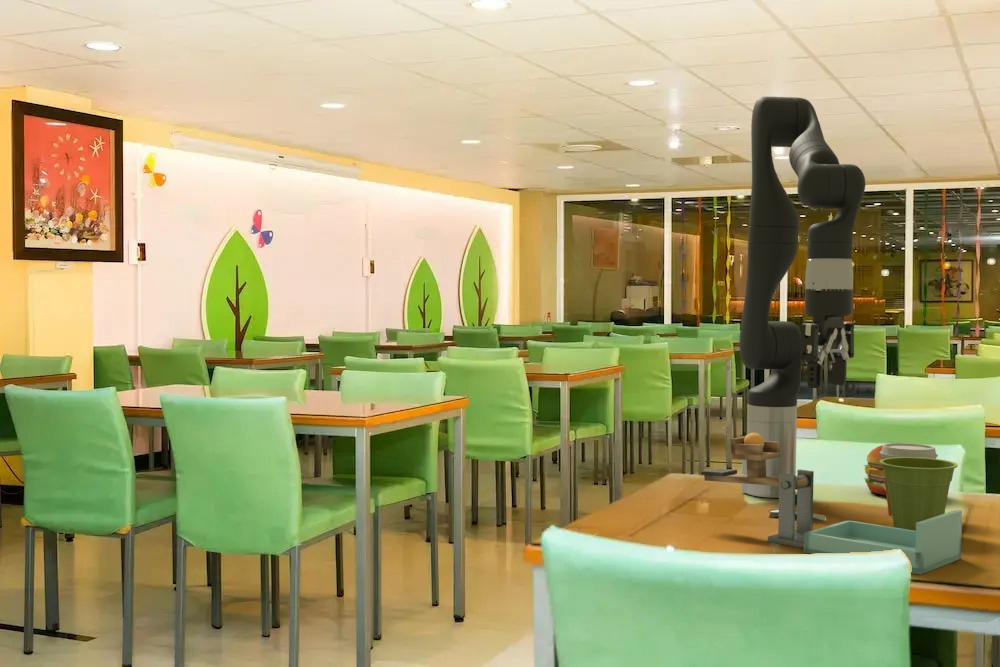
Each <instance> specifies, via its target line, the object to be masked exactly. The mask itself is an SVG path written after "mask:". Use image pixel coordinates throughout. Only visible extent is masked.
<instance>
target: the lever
mask: <svg viewBox="0 0 1000 667" xmlns="http://www.w3.org/2000/svg"><path fill="white" fill-rule="evenodd" d="M745 437H746V436H741V437H734V438H730V440H729V441H730V455H731V460H747V475H742V473H738V469H728V468H712V469H706V470H701V471H700V472H701V474H700V475H701V476H704V478H703V480H704V481H705V482H706V481H709V482H718V483H722V482H723V483H731V484H732V483H734V484H742V483H745V484H758V485H771V486H779V477H771V476H766V460H767V459H772V458H777V457H780V442H770V441H764V447H763V445H756V444H744V439H745ZM808 484H809V480H808V478H807V477H806V476H805V475H799V476H797V475H796V484H795V491H797V489H801V488H805V487H807V486H808Z"/></svg>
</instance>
